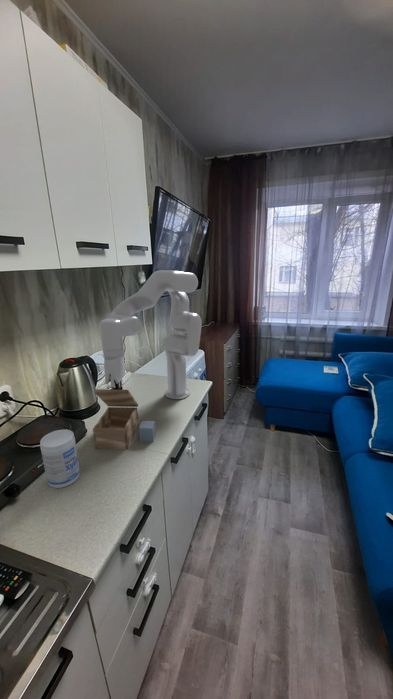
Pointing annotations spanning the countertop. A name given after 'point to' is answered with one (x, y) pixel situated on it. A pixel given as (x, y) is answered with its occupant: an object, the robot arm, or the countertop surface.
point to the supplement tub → (60, 458)
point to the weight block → (147, 431)
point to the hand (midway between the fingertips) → (118, 396)
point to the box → (116, 428)
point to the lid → (116, 398)
